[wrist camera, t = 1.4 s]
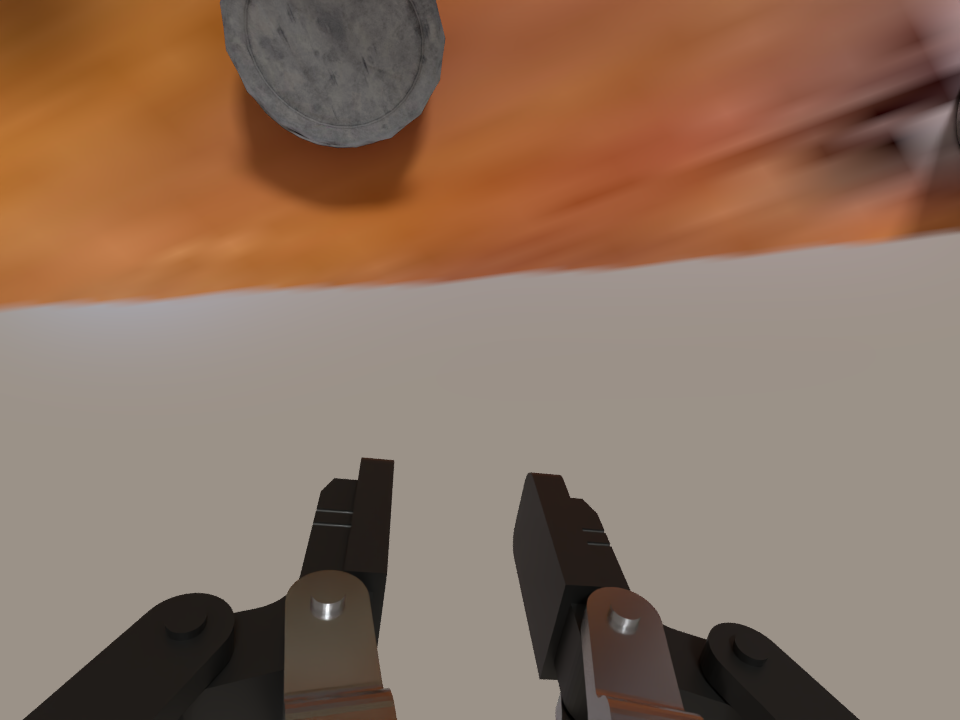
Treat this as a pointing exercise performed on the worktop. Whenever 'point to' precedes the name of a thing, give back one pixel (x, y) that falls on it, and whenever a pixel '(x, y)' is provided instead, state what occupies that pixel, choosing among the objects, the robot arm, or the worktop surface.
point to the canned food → (337, 63)
